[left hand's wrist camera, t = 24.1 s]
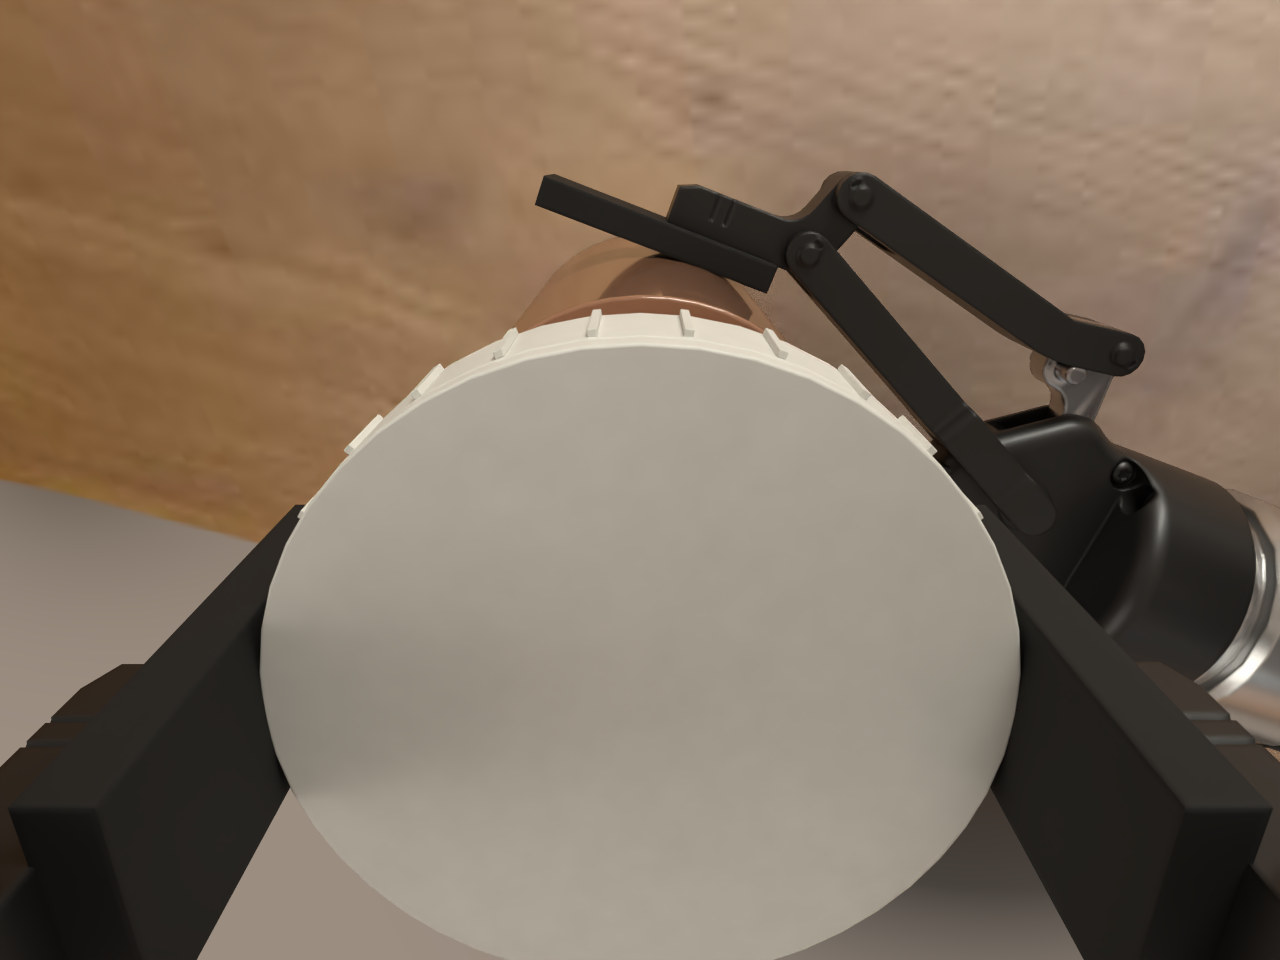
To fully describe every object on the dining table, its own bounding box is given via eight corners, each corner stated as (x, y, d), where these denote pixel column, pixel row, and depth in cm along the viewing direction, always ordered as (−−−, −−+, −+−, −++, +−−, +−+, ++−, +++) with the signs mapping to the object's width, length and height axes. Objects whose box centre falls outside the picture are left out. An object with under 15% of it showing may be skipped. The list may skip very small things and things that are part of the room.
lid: (1027, 307, 10) (1099, 338, 9) (928, 887, 14) (965, 985, 12) (253, 306, 10) (182, 337, 9) (351, 886, 14) (313, 984, 12)
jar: (707, 502, 33) (759, 773, 18) (492, 424, 31) (366, 648, 17) (803, 289, 30) (954, 411, 15) (570, 195, 29) (497, 232, 14)
